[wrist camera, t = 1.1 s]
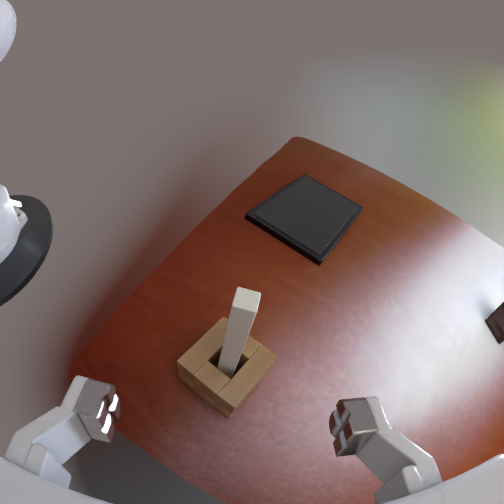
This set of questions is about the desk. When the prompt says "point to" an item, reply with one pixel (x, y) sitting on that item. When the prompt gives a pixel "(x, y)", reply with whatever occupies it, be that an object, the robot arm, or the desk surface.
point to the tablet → (306, 217)
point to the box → (497, 323)
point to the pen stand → (216, 382)
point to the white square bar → (238, 329)
